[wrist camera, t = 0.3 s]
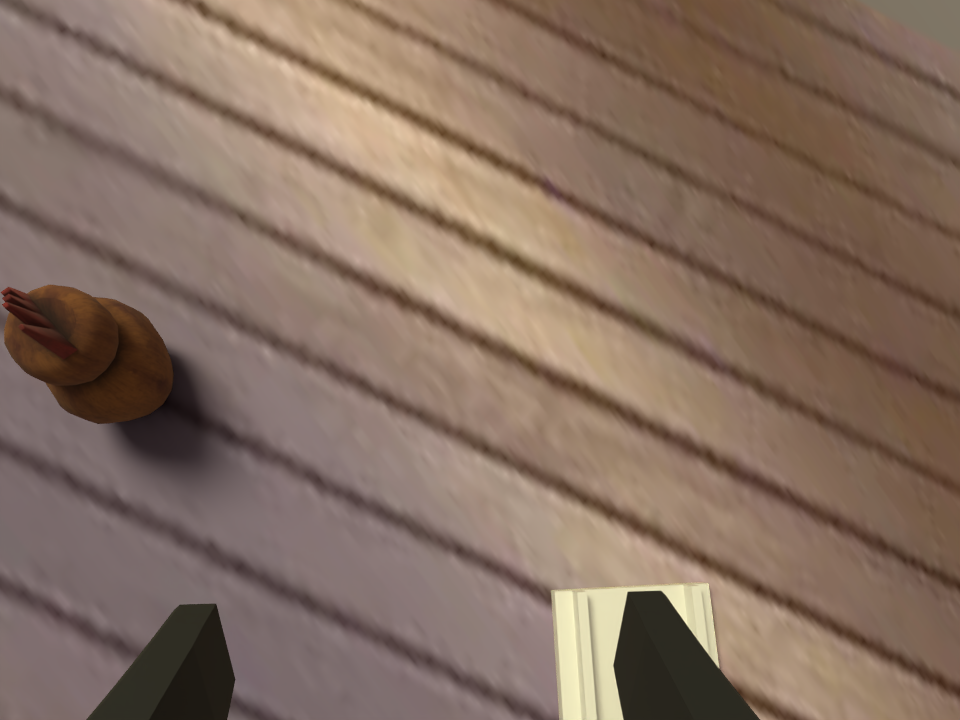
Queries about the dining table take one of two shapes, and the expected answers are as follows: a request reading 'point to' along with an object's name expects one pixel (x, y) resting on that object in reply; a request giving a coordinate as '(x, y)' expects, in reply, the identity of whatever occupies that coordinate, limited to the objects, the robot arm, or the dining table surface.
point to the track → (610, 642)
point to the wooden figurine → (89, 352)
